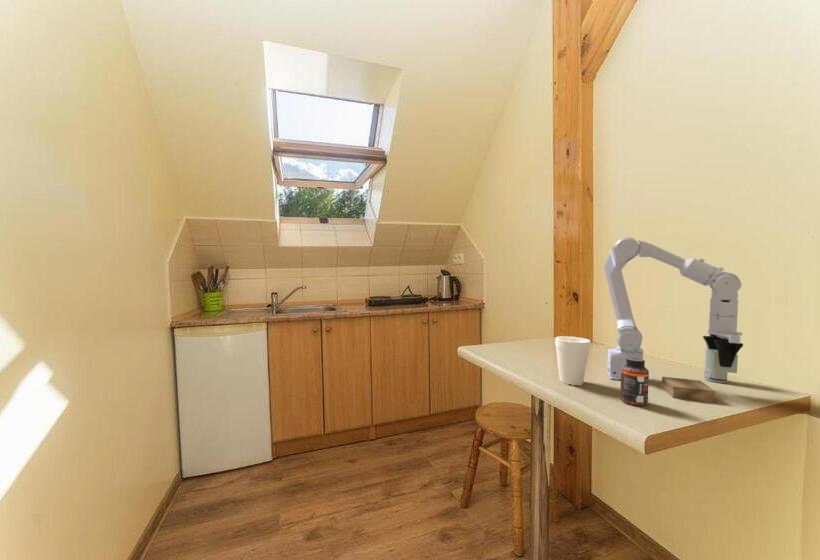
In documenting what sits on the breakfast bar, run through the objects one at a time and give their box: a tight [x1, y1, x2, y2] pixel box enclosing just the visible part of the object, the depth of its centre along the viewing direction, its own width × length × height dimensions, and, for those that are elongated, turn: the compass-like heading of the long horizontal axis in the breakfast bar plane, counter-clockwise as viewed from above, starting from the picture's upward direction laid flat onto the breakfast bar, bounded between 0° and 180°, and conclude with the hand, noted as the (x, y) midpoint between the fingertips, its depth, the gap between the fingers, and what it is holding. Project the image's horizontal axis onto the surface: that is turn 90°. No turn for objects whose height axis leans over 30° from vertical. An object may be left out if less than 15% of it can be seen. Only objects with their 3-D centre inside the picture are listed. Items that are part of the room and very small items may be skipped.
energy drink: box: [703, 343, 729, 384], centre depth 107 cm, size 5×5×12 cm
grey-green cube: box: [706, 349, 739, 374], centre depth 95 cm, size 5×5×5 cm
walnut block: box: [661, 376, 716, 404], centre depth 94 cm, size 9×9×4 cm
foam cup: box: [554, 335, 591, 386], centre depth 103 cm, size 10×9×13 cm
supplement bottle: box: [619, 357, 650, 407], centre depth 88 cm, size 6×6×11 cm
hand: (720, 364), depth 96 cm, fingers closed on grey-green cube, 5 cm apart
